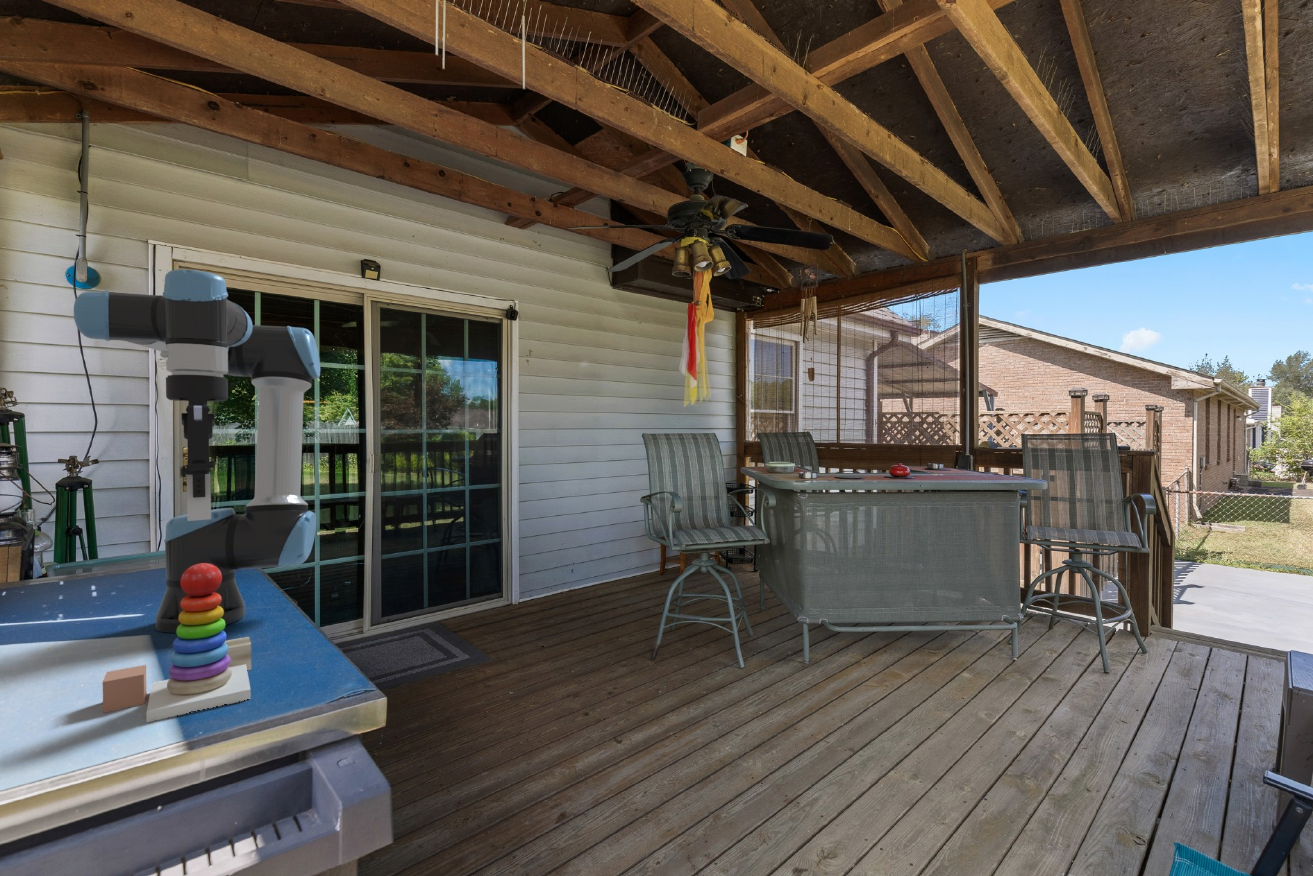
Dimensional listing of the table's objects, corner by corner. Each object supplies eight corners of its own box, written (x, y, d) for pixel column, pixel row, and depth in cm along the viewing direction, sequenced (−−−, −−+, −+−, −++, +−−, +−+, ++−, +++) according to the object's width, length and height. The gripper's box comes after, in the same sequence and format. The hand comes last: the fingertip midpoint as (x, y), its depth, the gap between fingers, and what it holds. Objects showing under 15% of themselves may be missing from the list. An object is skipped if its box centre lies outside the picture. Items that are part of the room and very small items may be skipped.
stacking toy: (160, 701, 87) (158, 572, 86) (174, 680, 94) (172, 561, 94) (227, 690, 90) (225, 566, 90) (235, 671, 98) (234, 556, 97)
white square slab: (152, 692, 93) (152, 682, 93) (246, 673, 100) (246, 664, 100) (146, 722, 84) (146, 711, 84) (250, 699, 91) (250, 689, 91)
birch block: (217, 668, 103) (217, 642, 103) (249, 662, 106) (249, 636, 105) (218, 677, 99) (218, 649, 99) (251, 670, 102) (251, 643, 102)
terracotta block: (107, 701, 90) (106, 671, 90) (146, 693, 93) (146, 664, 93) (103, 713, 87) (102, 682, 87) (144, 704, 89) (143, 674, 89)
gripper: (169, 378, 99) (171, 506, 100) (160, 367, 79) (163, 527, 80) (225, 380, 104) (227, 503, 104) (230, 370, 84) (232, 522, 84)
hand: (199, 514), depth 92 cm, fingers open, 13 cm apart
